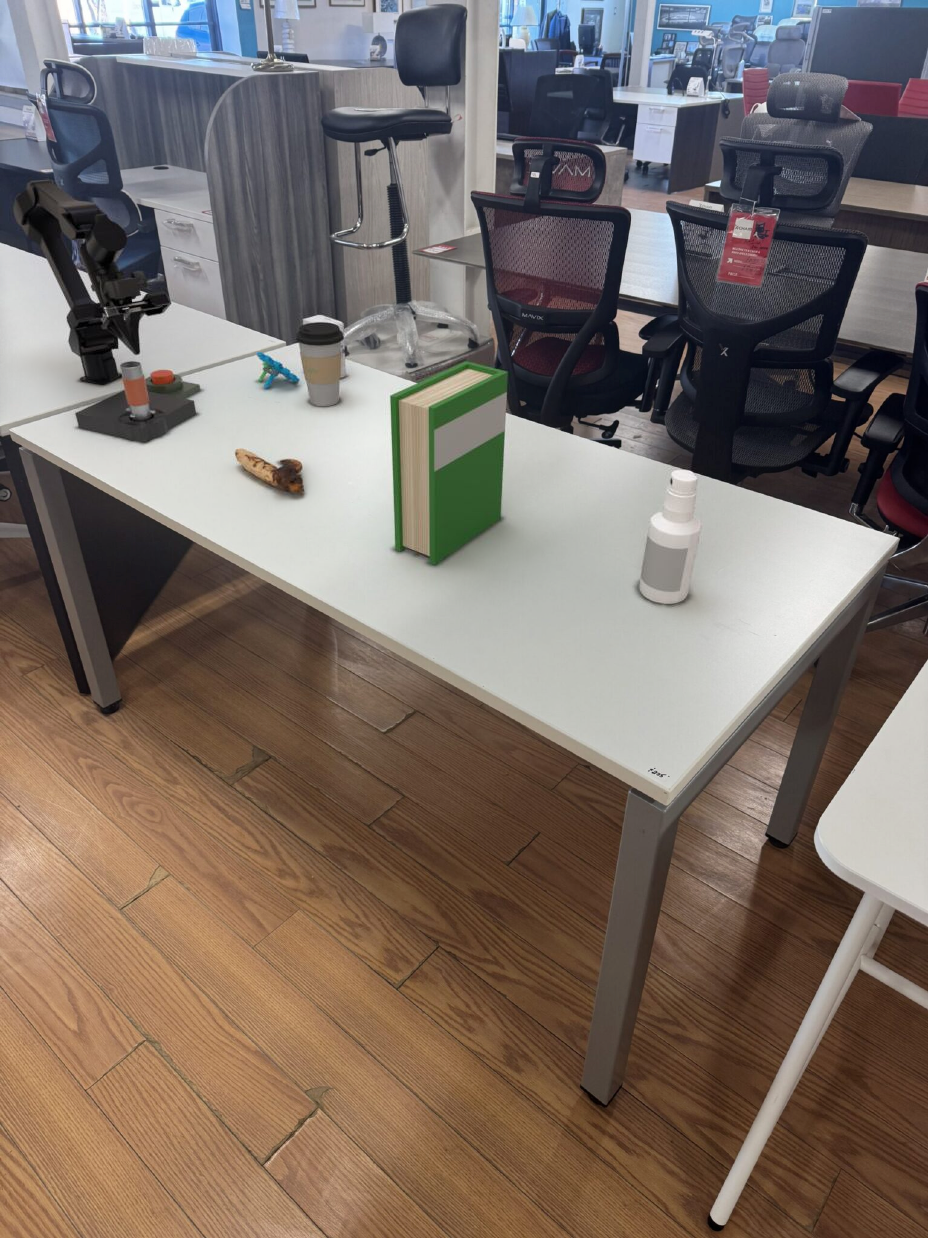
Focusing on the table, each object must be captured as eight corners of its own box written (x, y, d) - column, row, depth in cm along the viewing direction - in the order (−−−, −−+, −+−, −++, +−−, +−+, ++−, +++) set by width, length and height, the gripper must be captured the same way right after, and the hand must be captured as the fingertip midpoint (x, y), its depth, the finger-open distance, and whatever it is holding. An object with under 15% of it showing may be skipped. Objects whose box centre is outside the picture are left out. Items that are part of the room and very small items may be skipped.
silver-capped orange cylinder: (123, 436, 159) (108, 368, 152) (139, 424, 164) (124, 358, 156) (150, 439, 158) (136, 370, 151) (165, 427, 163) (152, 360, 155)
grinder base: (77, 428, 162) (73, 413, 160) (132, 401, 173) (129, 387, 171) (147, 443, 156) (144, 428, 155) (199, 415, 168) (197, 400, 166)
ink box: (305, 372, 189) (300, 318, 182) (323, 366, 192) (319, 313, 185) (330, 381, 184) (326, 327, 178) (348, 376, 187) (344, 322, 181)
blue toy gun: (308, 380, 180) (271, 352, 173) (293, 404, 180) (255, 376, 173) (287, 372, 188) (251, 345, 181) (273, 395, 188) (236, 368, 181)
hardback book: (434, 565, 124) (434, 408, 110) (395, 549, 127) (390, 395, 113) (500, 518, 136) (507, 371, 122) (463, 505, 139) (465, 360, 125)
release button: (147, 383, 175) (146, 374, 174) (161, 376, 178) (160, 368, 177) (164, 386, 173) (163, 378, 172) (178, 379, 176) (177, 371, 175)
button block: (130, 396, 175) (126, 382, 174) (159, 382, 182) (156, 368, 180) (172, 405, 172) (170, 390, 170) (200, 390, 179) (198, 376, 177)
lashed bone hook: (330, 488, 144) (269, 453, 154) (330, 462, 142) (267, 428, 151) (285, 504, 139) (224, 467, 148) (284, 478, 136) (221, 441, 146)
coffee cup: (293, 405, 173) (285, 331, 164) (316, 390, 180) (310, 318, 171) (333, 412, 170) (328, 337, 162) (355, 396, 177) (351, 324, 169)
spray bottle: (633, 578, 122) (651, 464, 111) (679, 577, 122) (702, 463, 112) (645, 605, 116) (666, 487, 106) (693, 604, 117) (719, 486, 106)
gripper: (63, 263, 148) (100, 350, 151) (163, 249, 159) (195, 331, 162) (51, 286, 157) (86, 368, 160) (146, 272, 168) (177, 349, 171)
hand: (137, 353), depth 163 cm, fingers closed
